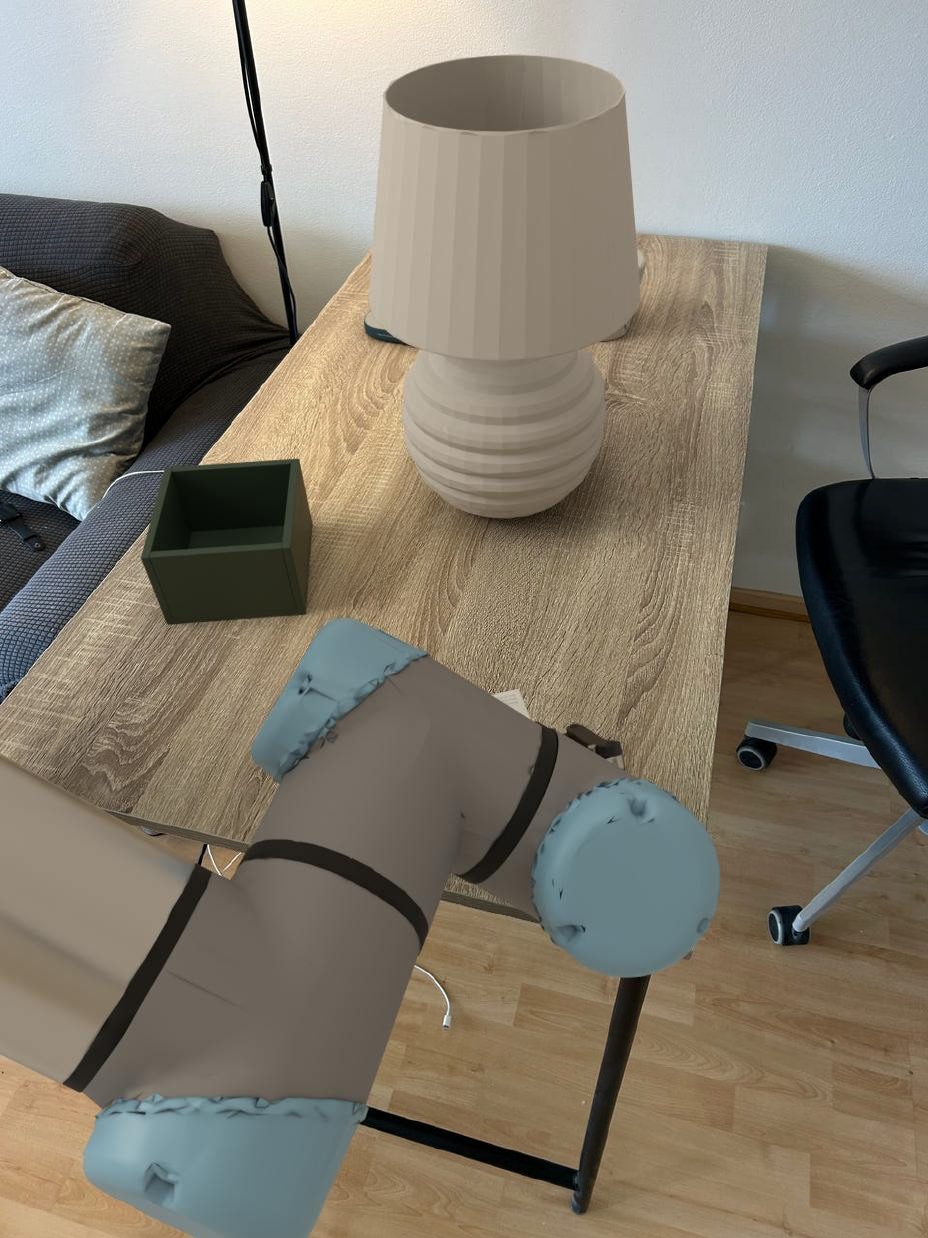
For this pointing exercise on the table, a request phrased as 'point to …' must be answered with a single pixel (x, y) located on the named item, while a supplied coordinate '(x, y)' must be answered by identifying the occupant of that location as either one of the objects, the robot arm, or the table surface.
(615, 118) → the table lamp
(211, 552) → the dark green open box
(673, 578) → the table surface
